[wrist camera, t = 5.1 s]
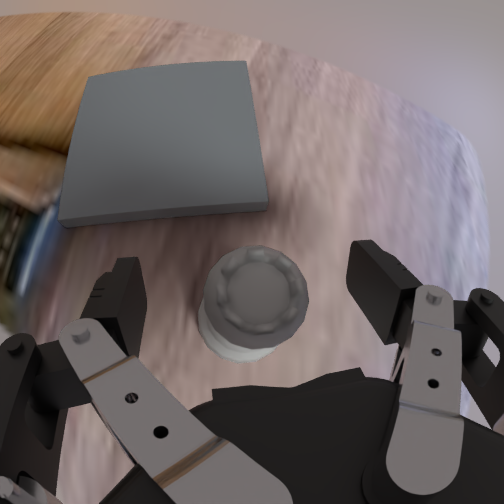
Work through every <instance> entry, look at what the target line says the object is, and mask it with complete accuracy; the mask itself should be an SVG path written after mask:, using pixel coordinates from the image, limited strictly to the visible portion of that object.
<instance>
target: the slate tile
mask: <svg viewBox="0 0 504 504" xmlns="http://www.w3.org/2000/svg"><path fill="white" fill-rule="evenodd" d="M268 202H269V199H268V193H267V186H266V179H265V173H264V166H263V160H262V154H261V147H260V141H259V135H258V129H257V122H256V116H255V110H254V104H253V98H252V92H251V86H250V80H249V75H248V69H247V63H246V61H213V62H194V63H181V64H170V65H160V66H152V67H144V68H136V69H130V70H123V71H117V72H111V73H106V74H101V75H95V76H91V77H88V80H87V83H86V87H85V90H84V93H83V97H82V100H81V104H80V107H79V111H78V115H77V118H76V122H75V126H74V130H73V135H72V139H71V143H70V148H69V153H68V158H67V163H66V168H65V173H64V179H63V185H62V191H61V198H60V205H59V212H58V221H59V222H60V223H61V224H62V225H63V226H64V227H65V228H70V227H78V226H87V225H97V224H106V223H116V222H126V221H137V220H148V219H159V218H171V217H183V216H195V215H209V214H223V213H238V212H254V211H266V209H267V205H268Z"/></svg>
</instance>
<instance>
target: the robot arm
mask: <svg viewBox="0 0 504 504" xmlns="http://www.w3.org/2000/svg"><path fill="white" fill-rule="evenodd" d="M346 284H347V288H348V291H349V292H350V294H351V295H352V297H353V298H354V300H355V301H356V303H357V304H358V306H359V307H360V309H361V310H362V311H363V313H364V314H365V316H366V317H367V319H368V320H369V322H370V323H371V325H372V326H373V328H374V329H375V331H376V333H377V334H378V336H379V337H380V339H381V340H382V342H383V343H384V345H388V344H393V343H398V344H399V346H398V349H397V351H396V355H395V359H394V363H393V367H392V371H391V375H390V379H389V380H385V379H380V378H372V377H365V376H364V374H363V372H362V370H361V368H360V367H359V368H354V369H349V370H344V371H339V372H334V373H329V374H325V375H323V376H321V377H318V378H316V379H313V380H311V381H308V382H306V383H303V384H301V385H298V386H296V387H291V388H284V387H267V386H253V385H249V386H240V387H230V388H219V389H212V396H213V400H211V401H208V402H205V403H203V404H200V405H198V406H196V407H194V408H192V409H190V410H189V411H188V410H187V409H186V408H185V407H184V406H183V405H182V404H181V403H180V402H179V401H178V400H177V399H176V398H175V397H174V396H173V395H172V394H171V393H170V392H169V391H168V390H167V389H166V388H165V387H164V386H163V385H162V384H161V383H160V382H159V381H158V380H157V379H156V378H155V377H154V376H153V375H152V373H151V372H150V371H149V370H148V369H147V368H146V367H145V366H144V365H143V364H142V363H141V362H140V360H139V359H138V357H139V351H140V345H141V339H142V333H143V327H144V322H145V316H146V311H147V297H146V291H145V286H144V281H143V277H142V272H141V266H140V262H139V259H138V257H128V258H118V259H117V261H116V263H115V265H114V268H113V270H112V272H105V273H104V274H103V275H102V276H101V277H100V278H99V279H98V280H97V281H96V283H95V285H94V287H93V291H92V292H91V294H90V298H88V301H87V303H86V305H85V307H84V310H83V312H82V314H81V317H80V319H78V320H75V321H73V322H71V323H69V324H68V325H66V326H65V327H64V328H63V329H62V330H61V332H60V334H59V340H56V341H53V342H49V343H45V344H41V345H37V344H36V342H35V340H34V338H33V337H32V336H31V335H29V334H26V333H20V334H16V335H13V336H11V337H9V338H8V339H6V340H5V341H4V342H3V343H2V344H1V346H0V504H63V503H62V502H61V501H60V500H59V499H57V498H56V487H57V478H58V469H59V462H60V454H61V447H62V441H63V435H64V429H65V423H66V418H67V413H68V408H71V407H75V406H79V405H83V404H87V403H91V405H92V406H93V408H94V409H95V411H96V412H97V414H98V415H99V417H100V418H101V420H102V421H103V423H104V424H105V426H106V427H107V429H108V430H109V432H110V433H111V435H112V436H113V437H114V439H115V440H116V442H117V443H118V444H119V446H120V447H121V449H122V450H123V451H124V453H125V454H126V456H127V457H128V458H129V460H130V461H131V462H132V464H133V465H134V467H133V468H132V469H131V470H130V471H129V472H128V474H127V475H126V476H125V477H124V478H123V479H122V480H121V481H120V482H119V483H118V484H117V485H116V486H115V487H114V488H113V489H112V490H111V491H110V492H109V494H108V495H107V496H106V497H105V498H104V499H103V500H102V501H101V502H100V503H99V504H504V302H503V301H502V300H501V299H500V298H499V297H498V296H497V295H496V294H494V293H493V292H491V291H489V290H486V289H482V288H476V289H473V290H472V291H471V292H470V295H469V298H468V301H458V300H453V298H452V296H451V295H450V294H449V293H448V292H447V291H446V290H444V289H442V288H440V287H438V286H434V285H423V284H422V283H421V282H420V281H419V280H418V279H417V278H416V277H415V276H414V275H413V274H412V273H411V272H410V271H409V270H407V268H406V267H405V266H404V265H402V264H401V262H400V261H399V260H398V259H397V258H396V257H395V256H393V255H391V254H389V253H387V252H385V251H383V250H382V249H381V248H380V247H379V246H378V245H377V244H376V243H375V242H374V241H373V240H359V241H353V242H352V244H351V247H350V254H349V261H348V268H347V274H346ZM488 337H489V338H490V339H491V340H492V341H493V343H494V344H495V345H496V346H497V348H498V349H499V352H500V361H499V363H498V365H497V367H495V366H494V364H493V363H492V362H491V360H490V359H489V358H488V357H487V355H486V354H485V353H484V351H483V350H482V349H483V347H484V345H485V343H486V341H487V339H488ZM461 380H462V382H463V383H464V385H465V386H466V388H467V389H468V391H469V393H470V394H471V396H472V397H473V399H474V401H475V402H476V404H477V405H478V407H479V409H480V410H481V412H482V414H483V415H484V417H485V419H486V420H487V422H488V424H489V425H490V427H491V429H492V430H491V429H489V428H487V427H485V426H482V425H480V424H478V423H476V422H474V421H472V420H470V419H468V418H466V417H464V416H462V415H460V399H461Z"/></svg>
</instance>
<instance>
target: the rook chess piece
mask: <svg viewBox="0 0 504 504" xmlns="http://www.w3.org/2000/svg"><path fill="white" fill-rule="evenodd" d="M308 303H309V298H308V290H307V283H306V280H305V278H304V277H303V275H302V273H301V272H300V270H299V268H298V266H297V265H296V263H294V262H293V261H292V260H291V259H289V258H288V257H287V256H286V255H284V254H283V253H282V252H280V251H277V250H274V249H271V248H268V247H265V246H246V247H240V248H238V249H236V250H234V251H232V252H230V253H227V254H225V255H223V256H222V257H221V259H220V260H219V261H218V262H217V263H216V264H215V265H214V266H213V268H212V269H211V270H210V271H209V274H208V277H207V280H206V283H205V286H204V289H203V299H202V302H201V305H200V308H199V311H198V322H199V332H200V334H201V336H202V338H203V340H204V342H205V343H206V345H207V347H208V348H209V349H210V350H212V351H213V352H214V353H215V354H216V355H218V356H219V357H220V358H222V359H225V360H228V361H232V362H235V363H247V362H256V361H258V360H260V359H261V358H263V357H265V356H267V355H269V354H271V353H272V352H273V351H274V350H275V349H276V347H277V346H278V345H279V344H280V343H282V342H284V341H286V340H287V339H289V338H291V337H292V336H293V335H294V333H295V332H296V331H297V329H298V328H299V327H300V325H301V324H302V323H303V322H304V319H305V315H306V311H307V307H308Z"/></svg>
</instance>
